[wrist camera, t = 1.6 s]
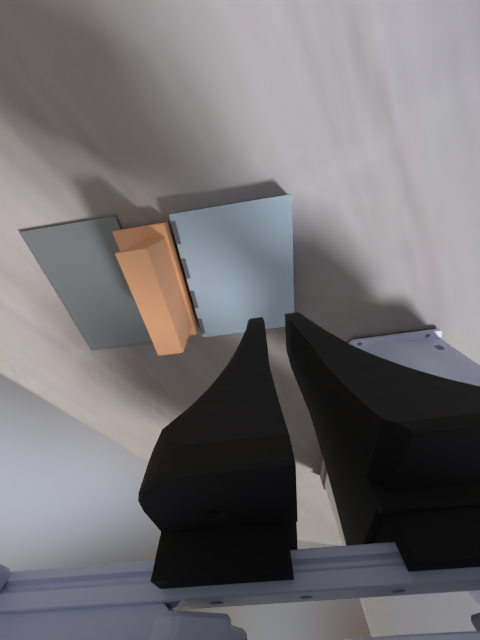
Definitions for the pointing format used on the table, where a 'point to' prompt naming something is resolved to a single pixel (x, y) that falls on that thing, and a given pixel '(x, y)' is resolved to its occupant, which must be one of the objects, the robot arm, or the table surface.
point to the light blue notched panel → (238, 263)
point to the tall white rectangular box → (411, 603)
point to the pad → (90, 280)
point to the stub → (157, 285)
